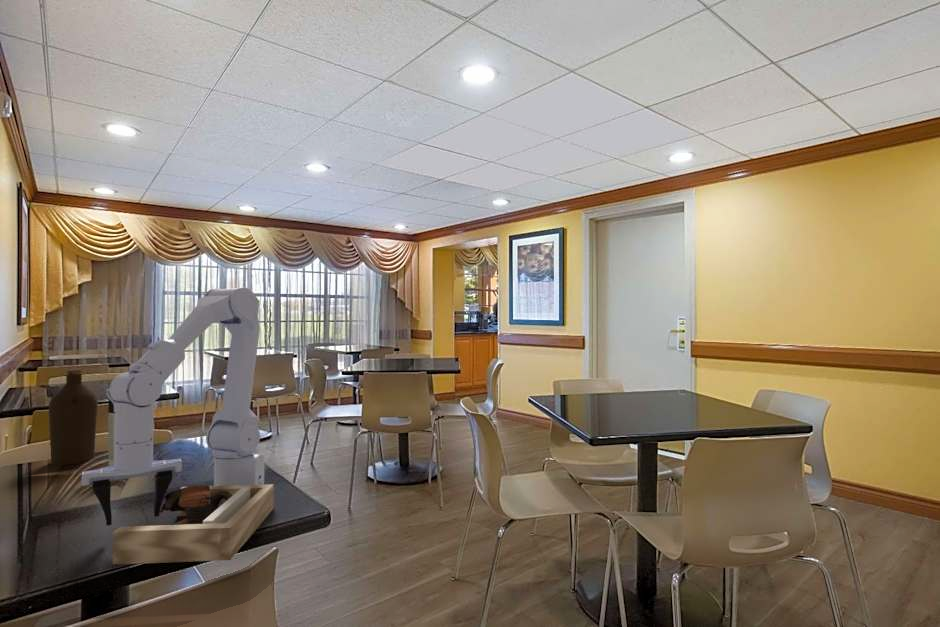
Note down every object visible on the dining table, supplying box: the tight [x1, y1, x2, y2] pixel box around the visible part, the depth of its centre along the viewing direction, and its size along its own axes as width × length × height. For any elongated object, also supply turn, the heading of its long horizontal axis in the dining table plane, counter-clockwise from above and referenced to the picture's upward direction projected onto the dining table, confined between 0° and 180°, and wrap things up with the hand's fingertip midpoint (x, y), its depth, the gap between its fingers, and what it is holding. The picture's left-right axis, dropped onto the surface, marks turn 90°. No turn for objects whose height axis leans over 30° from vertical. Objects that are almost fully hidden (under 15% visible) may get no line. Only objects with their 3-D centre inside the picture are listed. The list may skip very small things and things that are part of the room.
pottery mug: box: [159, 484, 232, 525], centre depth 94 cm, size 12×9×8 cm
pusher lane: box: [112, 483, 275, 566], centre depth 90 cm, size 18×22×5 cm
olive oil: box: [48, 368, 99, 466], centre depth 140 cm, size 11×11×25 cm
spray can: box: [107, 398, 115, 467], centre depth 132 cm, size 7×7×20 cm
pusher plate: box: [203, 487, 250, 524], centre depth 91 cm, size 2×17×5 cm, turn 4°
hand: (133, 519), depth 90 cm, fingers open, 6 cm apart
